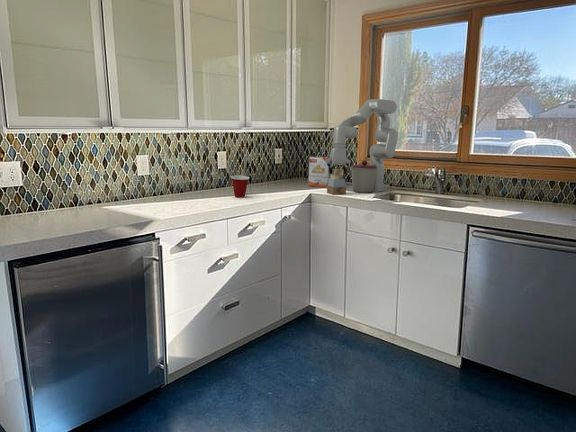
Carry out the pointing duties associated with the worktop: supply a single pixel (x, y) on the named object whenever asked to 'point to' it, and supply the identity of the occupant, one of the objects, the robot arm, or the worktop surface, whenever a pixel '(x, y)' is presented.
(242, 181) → the plastic cup
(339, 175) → the oak cube
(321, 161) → the cracker box
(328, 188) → the tower base
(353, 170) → the canister
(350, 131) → the robot arm
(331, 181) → the tower top
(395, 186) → the worktop surface
